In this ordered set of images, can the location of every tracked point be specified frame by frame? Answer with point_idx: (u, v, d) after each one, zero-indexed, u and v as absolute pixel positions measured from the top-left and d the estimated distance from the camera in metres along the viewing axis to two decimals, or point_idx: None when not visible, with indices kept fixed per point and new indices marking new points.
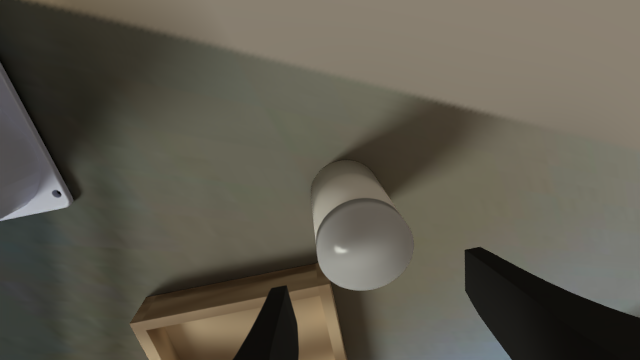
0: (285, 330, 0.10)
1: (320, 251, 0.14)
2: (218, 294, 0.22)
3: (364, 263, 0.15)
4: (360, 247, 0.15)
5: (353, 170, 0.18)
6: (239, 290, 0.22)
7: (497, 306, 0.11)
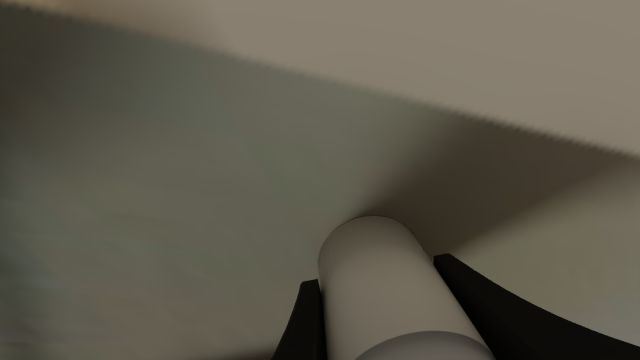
0: (321, 323, 0.10)
1: None
2: None
3: None
4: None
5: (389, 241, 0.11)
6: None
7: None
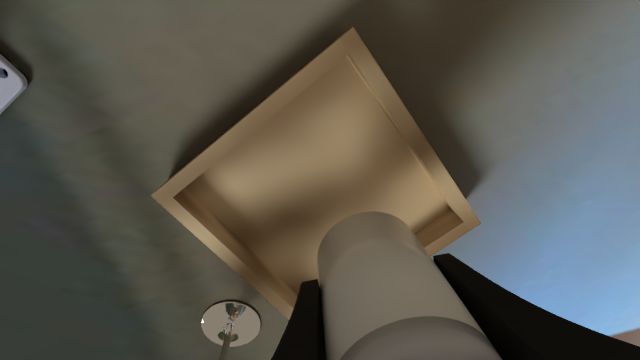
0: (320, 323, 0.10)
1: None
2: (233, 125, 0.17)
3: None
4: None
5: (390, 235, 0.11)
6: (254, 108, 0.17)
7: None
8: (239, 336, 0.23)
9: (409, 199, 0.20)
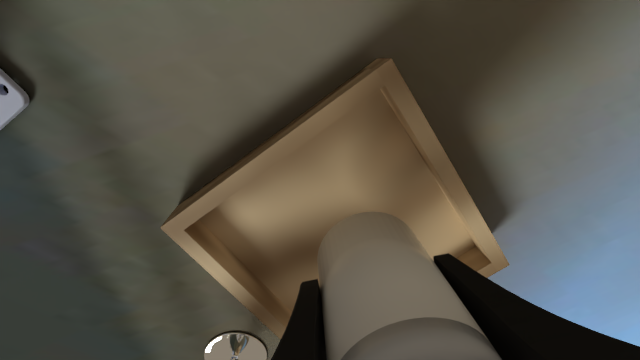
0: (320, 323, 0.10)
1: None
2: (253, 154, 0.16)
3: None
4: None
5: (390, 235, 0.11)
6: (276, 137, 0.15)
7: None
8: None
9: (433, 235, 0.19)
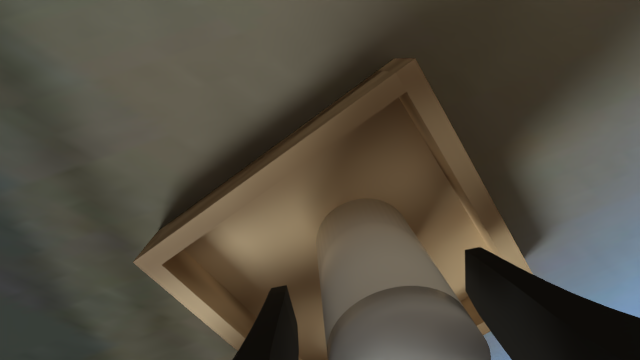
0: (285, 330, 0.10)
1: None
2: (245, 173, 0.13)
3: None
4: None
5: (382, 219, 0.13)
6: (273, 153, 0.13)
7: (497, 306, 0.11)
8: None
9: (455, 264, 0.16)
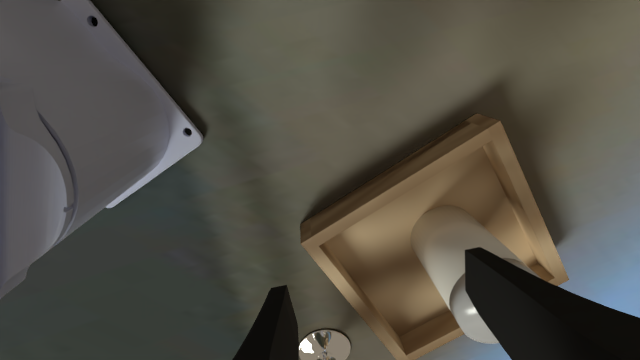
0: (285, 330, 0.10)
1: (463, 306, 0.15)
2: (375, 187, 0.20)
3: None
4: None
5: (467, 219, 0.19)
6: (396, 174, 0.19)
7: (497, 306, 0.11)
8: None
9: None
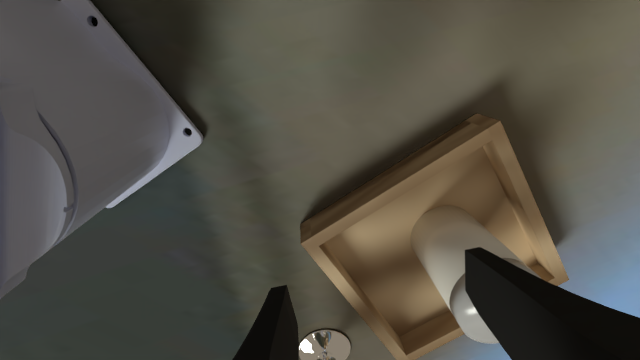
0: (285, 330, 0.10)
1: (463, 306, 0.15)
2: (375, 187, 0.20)
3: None
4: None
5: (467, 219, 0.19)
6: (396, 174, 0.19)
7: (497, 306, 0.11)
8: None
9: None
